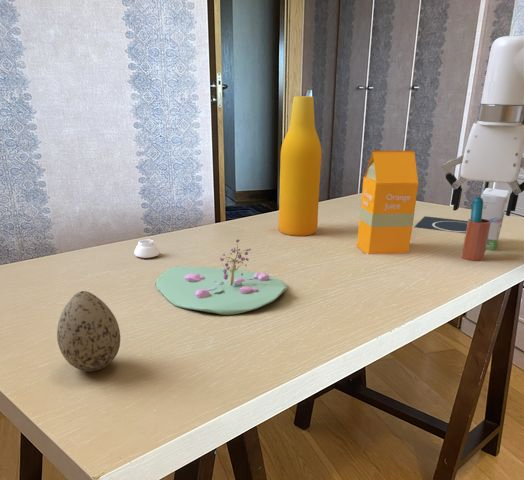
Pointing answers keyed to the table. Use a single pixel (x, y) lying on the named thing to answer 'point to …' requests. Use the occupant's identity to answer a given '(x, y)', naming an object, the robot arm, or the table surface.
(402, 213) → the orange juice
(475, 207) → the marker
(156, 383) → the table surface
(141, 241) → the white jar
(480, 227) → the pen cup
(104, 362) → the decorative egg
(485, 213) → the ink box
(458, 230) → the drawing mat
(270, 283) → the plant
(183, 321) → the table surface
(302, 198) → the beer bottle
